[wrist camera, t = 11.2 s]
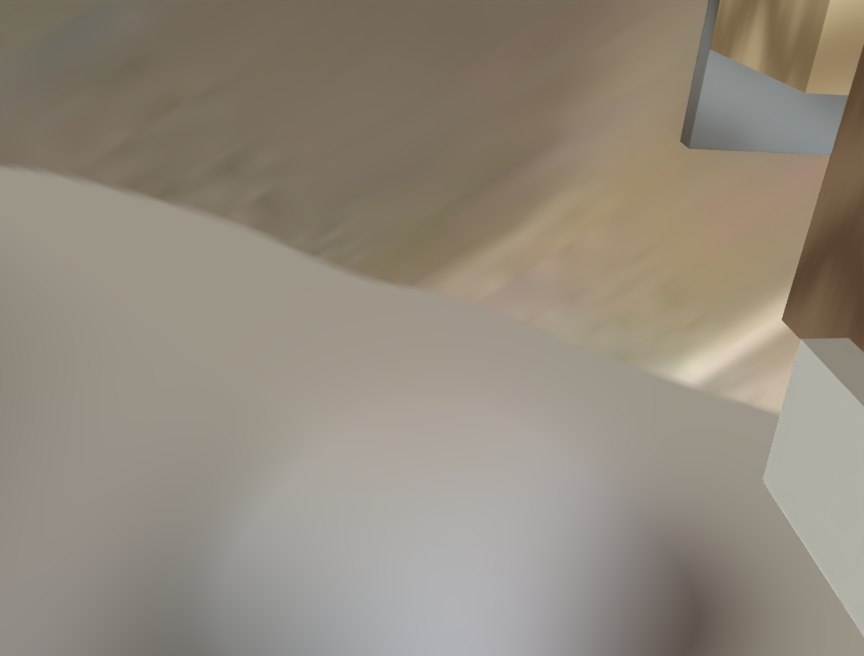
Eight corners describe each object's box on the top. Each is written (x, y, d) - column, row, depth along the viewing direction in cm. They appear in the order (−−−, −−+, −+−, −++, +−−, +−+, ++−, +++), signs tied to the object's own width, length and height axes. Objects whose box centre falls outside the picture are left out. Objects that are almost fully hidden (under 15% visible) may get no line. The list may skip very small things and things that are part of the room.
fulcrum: (742, -162, 32) (879, -185, 23) (935, -147, 33) (1142, -164, 24) (680, 141, 38) (772, 216, 29) (846, 149, 38) (986, 225, 29)
